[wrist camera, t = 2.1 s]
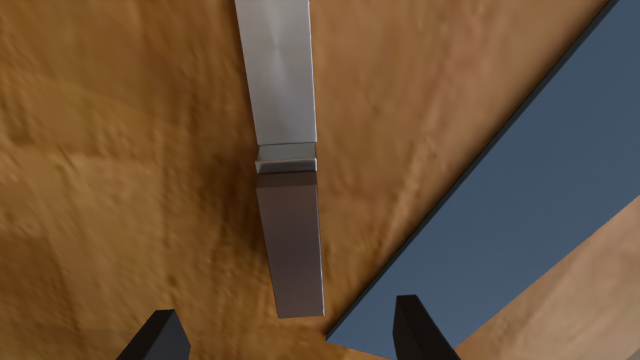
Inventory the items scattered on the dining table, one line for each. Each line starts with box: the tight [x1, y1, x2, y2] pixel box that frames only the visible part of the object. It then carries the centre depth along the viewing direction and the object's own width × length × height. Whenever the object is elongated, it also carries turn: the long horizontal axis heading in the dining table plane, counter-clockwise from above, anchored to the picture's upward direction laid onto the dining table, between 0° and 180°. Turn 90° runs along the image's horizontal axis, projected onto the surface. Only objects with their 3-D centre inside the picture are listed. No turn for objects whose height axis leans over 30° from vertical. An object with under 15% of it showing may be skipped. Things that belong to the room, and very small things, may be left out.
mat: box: [326, 0, 640, 360], centre depth 18 cm, size 9×23×1 cm, turn 153°
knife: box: [235, 0, 325, 318], centre depth 13 cm, size 19×3×3 cm, turn 3°
